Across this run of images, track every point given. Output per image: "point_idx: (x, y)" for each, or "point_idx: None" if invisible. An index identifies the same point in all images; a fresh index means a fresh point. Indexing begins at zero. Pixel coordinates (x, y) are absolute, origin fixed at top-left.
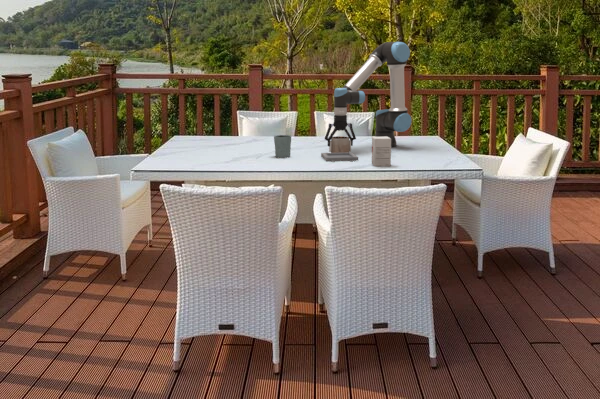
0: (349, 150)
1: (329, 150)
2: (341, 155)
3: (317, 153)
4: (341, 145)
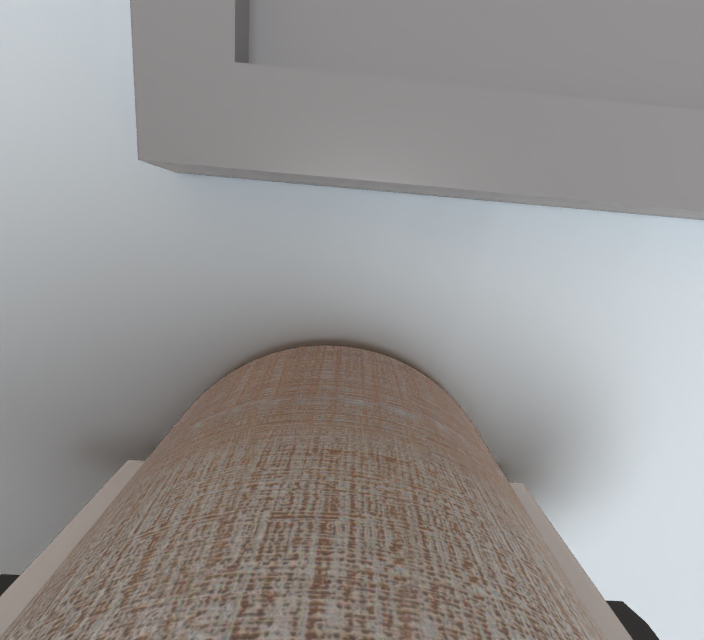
0: None
1: None
2: (429, 57)
3: (671, 549)
4: (348, 436)
